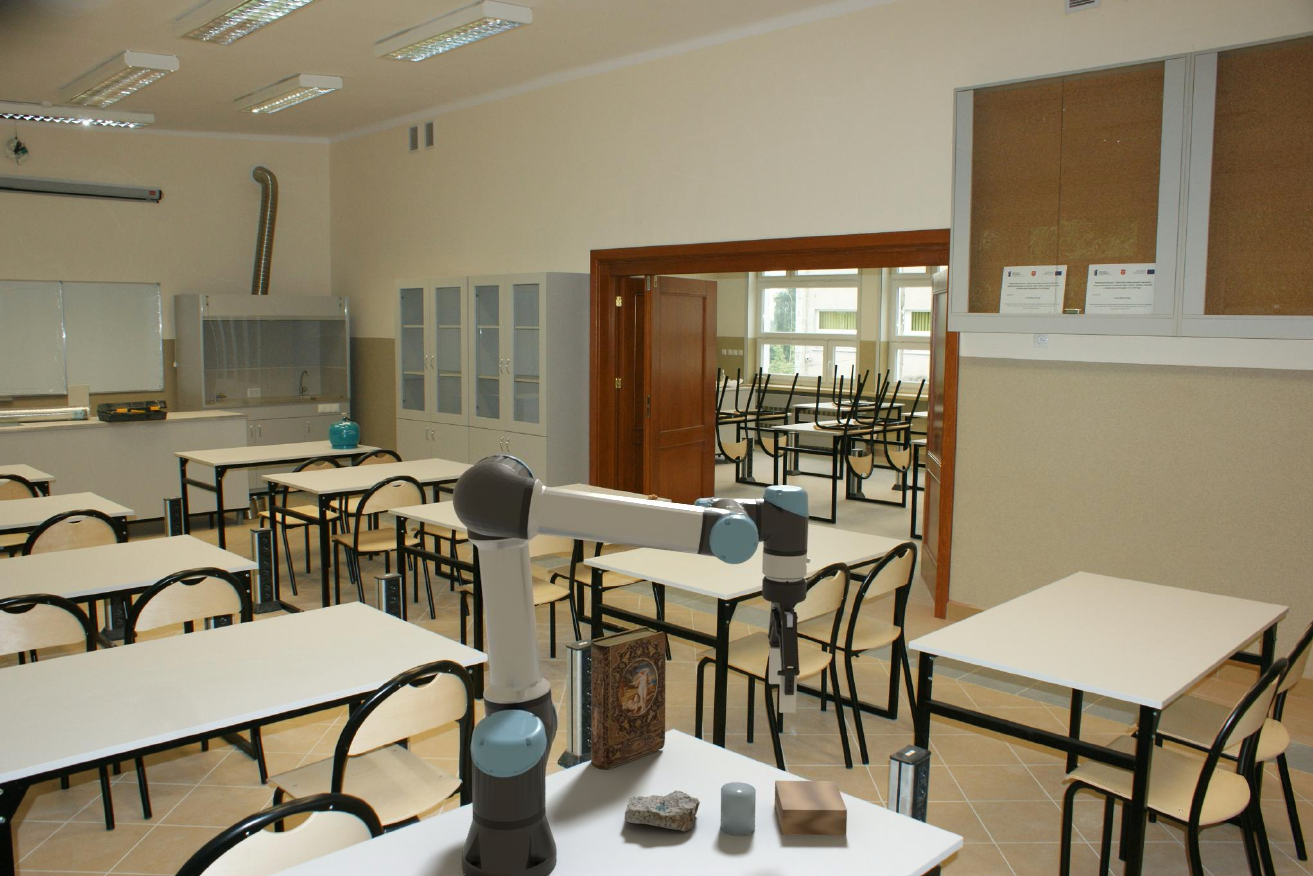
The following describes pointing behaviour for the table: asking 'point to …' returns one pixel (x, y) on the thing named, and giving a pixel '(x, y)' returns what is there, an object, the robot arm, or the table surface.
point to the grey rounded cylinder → (738, 808)
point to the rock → (663, 810)
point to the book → (627, 696)
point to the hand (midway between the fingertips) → (781, 697)
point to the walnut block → (810, 808)
